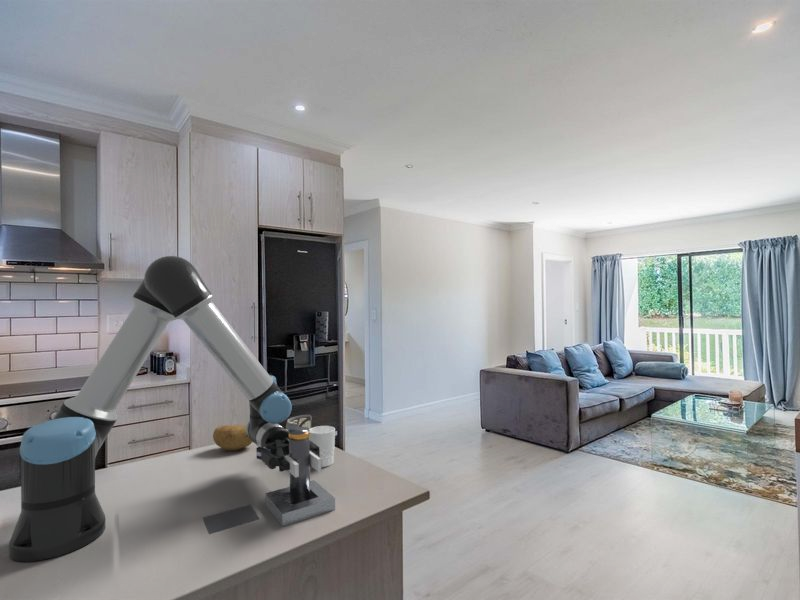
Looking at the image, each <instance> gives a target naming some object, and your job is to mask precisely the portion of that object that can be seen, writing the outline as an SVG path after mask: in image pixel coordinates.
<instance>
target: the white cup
mask: <svg viewBox="0 0 800 600" xmlns="http://www.w3.org/2000/svg"><path fill="white" fill-rule="evenodd" d="M309 430H310V437H309V440H310V441H311V442H313V443H314V444H316V445H317V446H318V447H319V449H320V458H321V468H325V467H329V466H332V465H333V464H334V461H335V445H336V440H335V439H336V427H334V426H331V425H320V426H319V425H318V426H314V427H311V428H310V429H309Z"/></svg>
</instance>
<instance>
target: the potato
mask: <svg viewBox="0 0 800 600" xmlns="http://www.w3.org/2000/svg"><path fill="white" fill-rule="evenodd" d="M247 425H248V424H247ZM247 425H243V424H230V425H227V424H226V425H220V426H218V427H215V429H214V431H213V434H212V439H213V442H215V443H214V444H215V445H216V446H218V447H219V448H220V449H223V450H226V451H233V452H234V451H238V450H242V449H243V448H247V447H249V446H250V445H251V444H252V443H253V442H252V441H251V439H250V437H249V436H248V434H247Z"/></svg>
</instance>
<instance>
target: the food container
mask: <svg viewBox="0 0 800 600" xmlns="http://www.w3.org/2000/svg"><path fill="white" fill-rule="evenodd" d="M312 421H313V420H312V415H311V414H303V415H302V414H301V415H297V416H293V417H290V418H287V421H286V424H285V429H286V430H287V431H289V430H290V429H292V428H296V427H307V428H309V429H310V428H312Z"/></svg>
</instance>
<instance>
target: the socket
mask: <svg viewBox="0 0 800 600" xmlns="http://www.w3.org/2000/svg"><path fill="white" fill-rule="evenodd" d="M264 495H265V498H264V499H265V507H267V508H268V509H269V511H270V512H271V514H272V516H274V517H275V518H276V520H277V521H278V522H279V524H280V525H281V527H285V526H288V525H292V524H295V523H297V522H301V521H304V520H306V519H309V518H314V517H317V516H320V515H323V514H326V513H328V512H332V511H335V510H336V497H334V496H333V495H332V494H331V493H330V492H329V491H327V490H326V489H325V488H324V487H323V486H322V485H321V484H319V483H318V482H317V481H316V480H315V479H313V480H310V500H307V501H303V502H300V503H297V504H291V503H290V486H287V487H284V488H280V489H277V490H272V491H270V492H265V493H264Z"/></svg>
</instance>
